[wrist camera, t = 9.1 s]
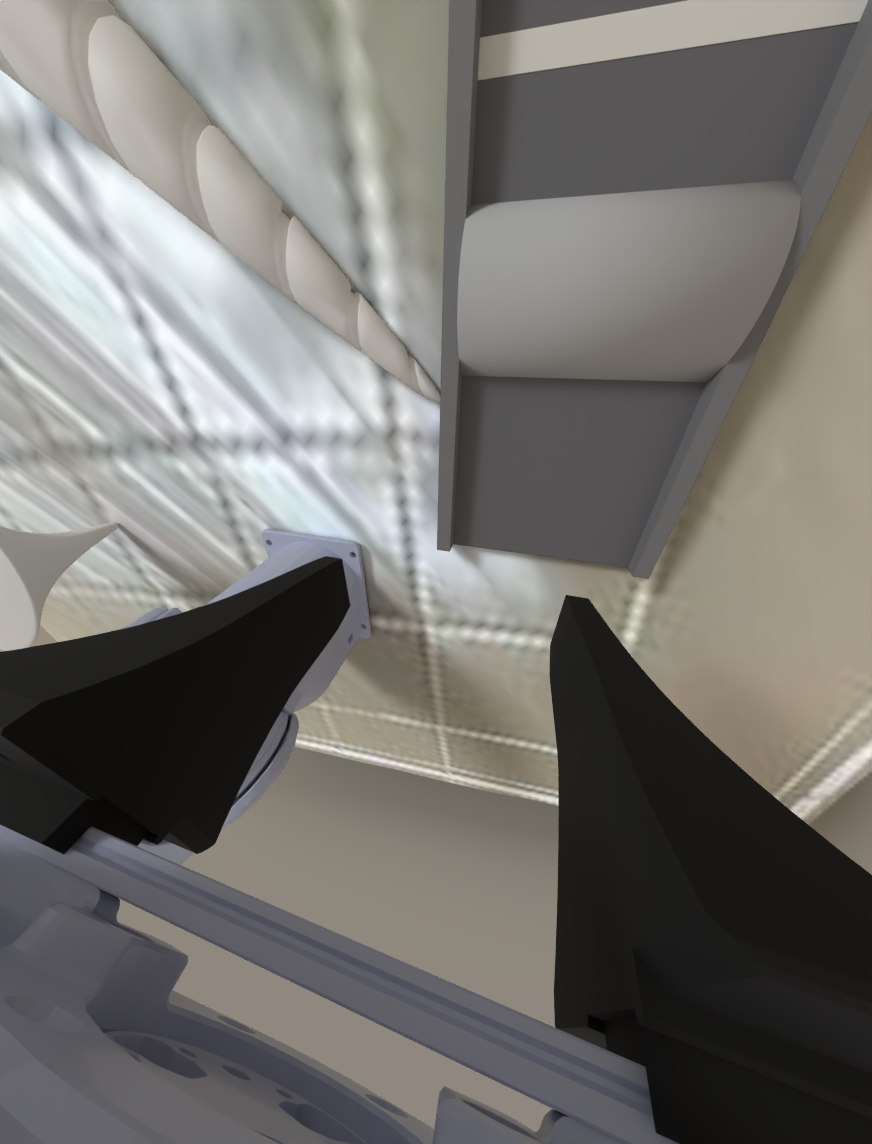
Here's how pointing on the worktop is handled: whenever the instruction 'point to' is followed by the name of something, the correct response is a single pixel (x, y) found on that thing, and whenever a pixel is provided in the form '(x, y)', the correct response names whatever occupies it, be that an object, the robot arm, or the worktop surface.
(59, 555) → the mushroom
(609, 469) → the divided tray
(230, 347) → the worktop surface
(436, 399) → the unicorn horn
